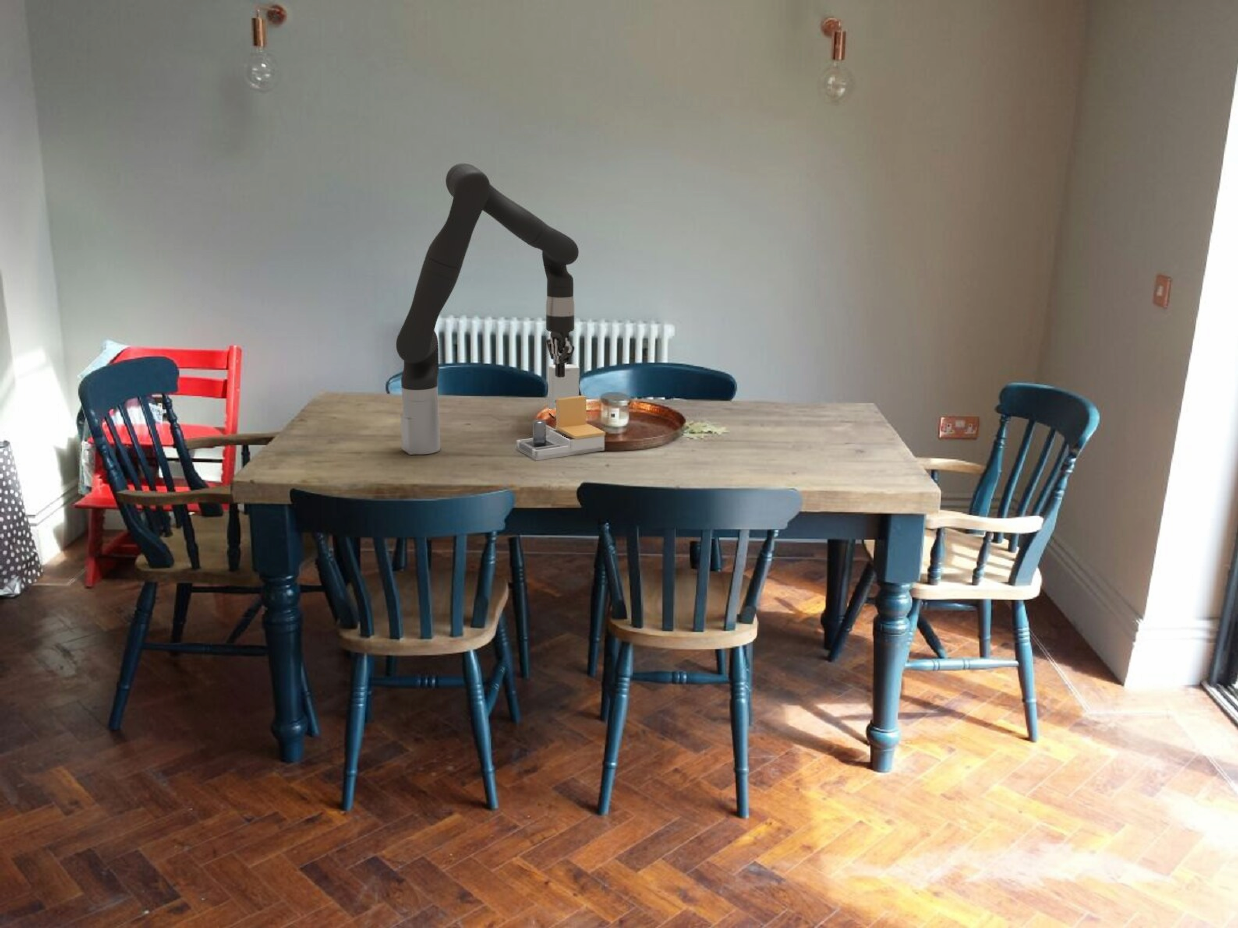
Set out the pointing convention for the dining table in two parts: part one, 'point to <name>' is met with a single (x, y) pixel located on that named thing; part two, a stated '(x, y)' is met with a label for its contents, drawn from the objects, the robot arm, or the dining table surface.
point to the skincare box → (562, 384)
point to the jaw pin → (539, 433)
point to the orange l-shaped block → (574, 418)
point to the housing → (559, 445)
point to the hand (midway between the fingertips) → (559, 376)
